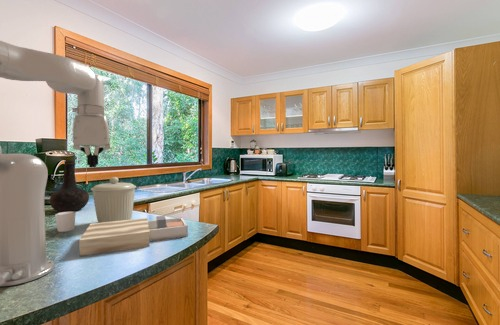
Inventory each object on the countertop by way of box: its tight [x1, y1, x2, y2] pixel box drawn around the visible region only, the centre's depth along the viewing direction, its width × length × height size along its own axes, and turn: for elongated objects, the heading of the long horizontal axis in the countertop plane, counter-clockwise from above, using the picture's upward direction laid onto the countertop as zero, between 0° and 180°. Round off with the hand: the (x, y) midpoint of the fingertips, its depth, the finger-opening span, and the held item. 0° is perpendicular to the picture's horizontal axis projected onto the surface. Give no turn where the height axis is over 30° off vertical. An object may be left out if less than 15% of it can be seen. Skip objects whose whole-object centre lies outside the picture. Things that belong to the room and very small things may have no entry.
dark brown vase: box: [49, 160, 90, 213], centre depth 140 cm, size 18×18×28 cm
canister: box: [90, 176, 137, 223], centre depth 114 cm, size 18×18×21 cm
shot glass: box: [55, 211, 77, 233], centre depth 105 cm, size 7×7×7 cm
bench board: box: [78, 217, 150, 257], centre depth 91 cm, size 20×20×5 cm
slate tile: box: [155, 215, 167, 229], centre depth 97 cm, size 6×6×3 cm
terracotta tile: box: [166, 221, 184, 228], centre depth 99 cm, size 6×6×3 cm
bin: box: [148, 217, 189, 242], centre depth 100 cm, size 14×14×4 cm
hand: (92, 166), depth 85 cm, fingers closed
